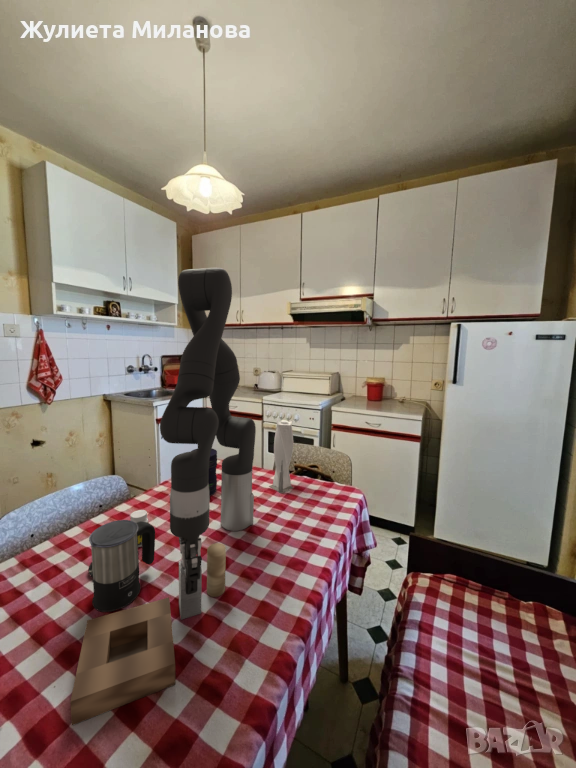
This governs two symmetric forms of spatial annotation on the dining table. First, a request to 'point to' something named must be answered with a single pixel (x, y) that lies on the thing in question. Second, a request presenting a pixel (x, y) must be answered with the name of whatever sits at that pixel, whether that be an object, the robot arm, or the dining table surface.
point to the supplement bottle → (137, 517)
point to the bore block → (123, 659)
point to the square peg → (189, 596)
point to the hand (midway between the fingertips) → (189, 583)
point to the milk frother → (118, 562)
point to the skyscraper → (282, 455)
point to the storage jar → (212, 472)
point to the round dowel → (216, 569)
